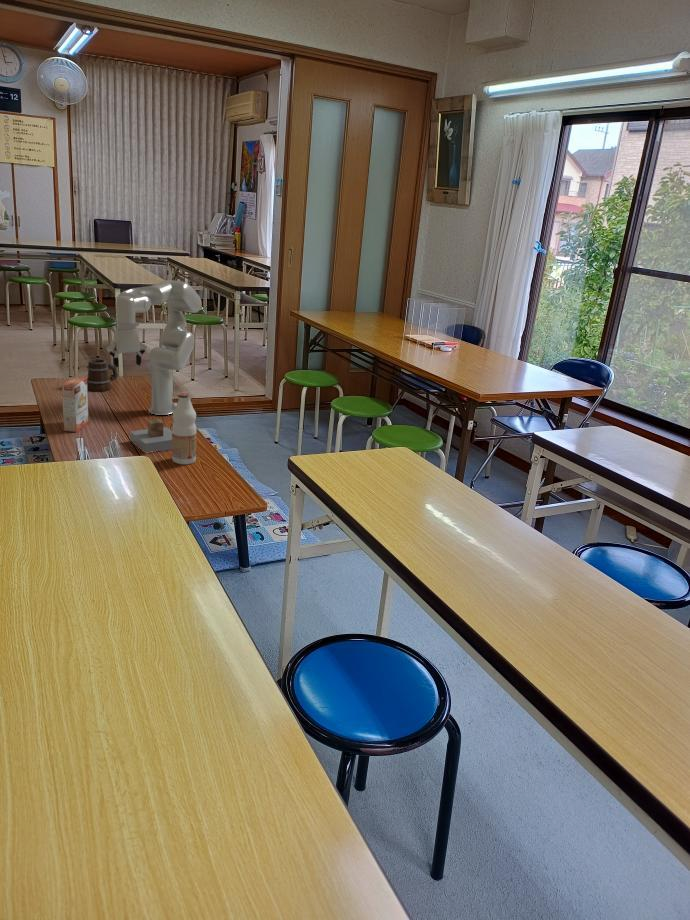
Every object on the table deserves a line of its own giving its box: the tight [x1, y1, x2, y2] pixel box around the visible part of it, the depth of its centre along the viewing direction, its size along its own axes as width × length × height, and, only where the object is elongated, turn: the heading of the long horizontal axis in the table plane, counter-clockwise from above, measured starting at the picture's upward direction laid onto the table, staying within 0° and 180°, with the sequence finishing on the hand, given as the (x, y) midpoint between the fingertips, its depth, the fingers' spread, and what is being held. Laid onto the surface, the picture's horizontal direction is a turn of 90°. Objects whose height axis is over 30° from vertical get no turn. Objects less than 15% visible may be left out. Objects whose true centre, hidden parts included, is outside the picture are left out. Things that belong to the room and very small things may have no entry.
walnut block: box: [147, 418, 164, 437], centre depth 283 cm, size 5×5×6 cm
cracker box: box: [61, 376, 89, 433], centre depth 293 cm, size 14×6×21 cm, turn 179°
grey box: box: [129, 426, 172, 452], centre depth 285 cm, size 16×16×5 cm
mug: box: [86, 358, 118, 393], centre depth 351 cm, size 16×12×15 cm
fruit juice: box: [171, 391, 197, 465], centre depth 267 cm, size 9×9×28 cm
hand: (127, 365), depth 292 cm, fingers open, 9 cm apart
